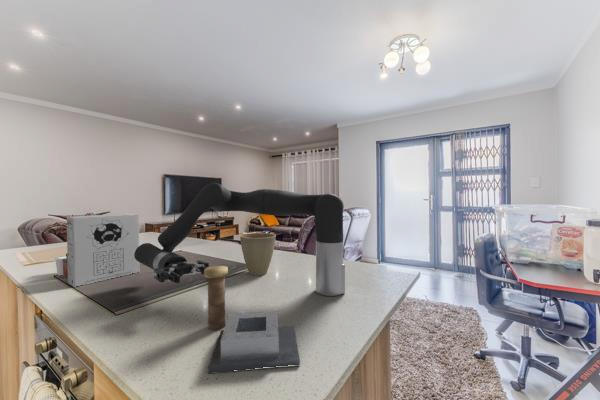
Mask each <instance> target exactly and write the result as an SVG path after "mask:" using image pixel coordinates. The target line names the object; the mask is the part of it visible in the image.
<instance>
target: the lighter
mask: <svg viewBox="0 0 600 400" xmlns="http://www.w3.org/2000/svg"><path fill="white" fill-rule="evenodd" d="M65 256H66V257H67V252H66V253H65ZM62 261H63V276H62V279H68V257H67V258H65V259H62Z"/></svg>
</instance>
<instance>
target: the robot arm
mask: <svg viewBox="0 0 600 400" xmlns="http://www.w3.org/2000/svg"><path fill="white" fill-rule="evenodd" d="M344 206H345V205H344V202H343V200H342V198H341V197H339V196H338V195H337V194H334V193H324V194H304V193H300V192H299V193H298V192H293V191H288V190H280V189H271V188H270V189H269V188H265V189H263V188H262V189H256V190H252V191H248V192H241V191H234V190H229V189H227V188H226V187H225V186H223V185H222V184H220V183H218V182H210V183H207V184H206V185H205V186H204V187H203V188H202V189H201V190H200V191H199V193H197V195H196V196H195V197H194V199H192V201H191V202H190V203H189V205H188V206H187V207H186V208H185V210H184V211H183V212H182V213H181V214H180V215H179V217H177V218H176V220H175V221H173V222H172V223H171V224H170V225H169V226H168V227H167V228H166V229H164V230H163V231H162V232H161V233H160V234H159V235H158V237H157V242H158V243H159V244H160V246H161V247H162V249H161V248H159V247H158V246H156V245H155V244H152V243H150V242H145V243H142V244H139V247H138V248H137V249H136V251H135V253H134V257H135V259H136V260H137V261H138V262H139V264H141V265H144V266H146V267H148V268H149V269H152V270H153V271H154V272H153V277H154V279H155V281H157V282H159V283H164V282H165V281H167V282H172V283H174V284H180V282H181V277H184V276H187V275H189V276H195V275H197V274H201V275H203V276H204V269H206V268H208V267H210V263H209V262H206V261H204V260H203V261H202V260H196V261H195V262H191V261H188V260H187V259H186V258H185V257H184V256H183V255H181V254H178V253H175V252H174V250H175V248H176V247H178V246H179V245H180V244H181V243H182V242H183V241H185V240H186V239H187V237H188V236H189V235H190V234H191V232H192V230H193V228H194V227H195V224H197V221H198V220H199V218H200V217H201V216H202V215H203V214H204V213H205V212H207V211H208V210H210V209H211V210H213V211H216V212H245V213H251V214H258V215H265V216H277V217H278V216H281V217H282V216H283V217H285V216H298V215H299V216H302V215H304V216H305V215H306V216H312V217H313V216H314V233H315V292H316V293H317V294H318V295H321V296H326V297H336V296H339V295H343V294H346V265H345V264H344V225H343V224H344V209H345V208H344Z"/></svg>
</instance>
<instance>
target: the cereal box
mask: <svg viewBox="0 0 600 400" xmlns="http://www.w3.org/2000/svg"><path fill="white" fill-rule="evenodd" d="M139 217H140V216H139V214H138V213H133V212H132V213H131V212H130V213H114V214H113V213H111V214H96V215H94V214H91V215H75V216H67V217H66V243H67V244H66V247H67V248H66V249H67V252H66V253H67V257H68V278H67V283H69V285H71V286H72V287H73V288H77V287H76V286H79V287H81V286H80V285H83V286H86V285H85V284H87V285H91V284H90V283H92V284H95V283H94V282H96V283H99V282H98V281H101V282H104V281H103V280H105V281H108V280H107V279H109V280H112V279H111V278H114V279H117V278H116V277H118V278H121V277H120V276H123V277H125V276H124V275H127V276H130V275H129V274H131V275H133V274H132V273H136V274H138V273H137V272H139V273H140V272H141V271H140V262H138V261H137V260H136V259H135V257H134V253H135V251H136V249H137V248H138V247H139V246H140V230H139V229H140V219H139Z"/></svg>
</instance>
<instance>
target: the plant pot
mask: <svg viewBox="0 0 600 400" xmlns="http://www.w3.org/2000/svg"><path fill="white" fill-rule="evenodd" d="M276 237H277V235H276V234H275V233H270V232H269V233H268V232H255V233H253V232H252V233H244V234H240V236H239V239H240V245H241V250H242V251H241V252H242V255H243V259H244V262H245V265H246V268H247V272H248V274H249V275H250V276H264V275H266V274H267V273H268V270H269V268H270V265H271V262H272V259H273V254H274V251H275V245H276Z"/></svg>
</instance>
